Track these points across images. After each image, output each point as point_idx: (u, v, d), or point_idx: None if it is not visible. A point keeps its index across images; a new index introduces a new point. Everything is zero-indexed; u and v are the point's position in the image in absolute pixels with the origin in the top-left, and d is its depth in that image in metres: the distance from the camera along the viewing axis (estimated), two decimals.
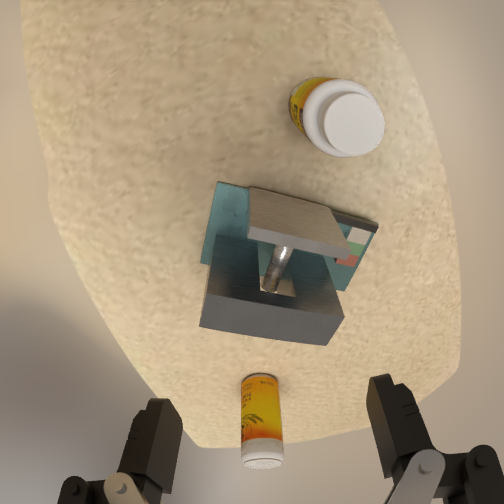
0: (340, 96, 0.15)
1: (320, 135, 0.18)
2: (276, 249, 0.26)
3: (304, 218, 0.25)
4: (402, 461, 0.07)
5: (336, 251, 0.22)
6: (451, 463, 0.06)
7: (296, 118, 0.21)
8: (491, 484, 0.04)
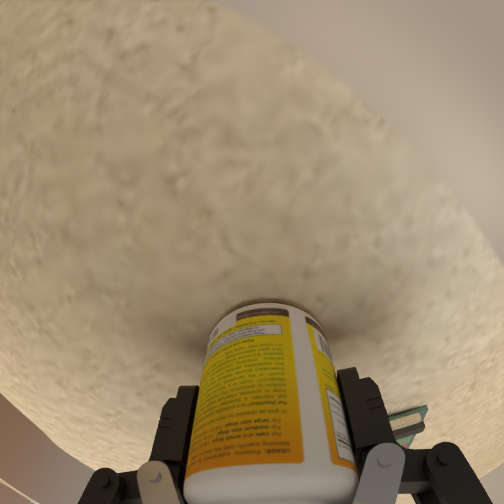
0: None
1: None
2: None
3: None
4: (363, 453, 0.07)
5: None
6: (414, 458, 0.06)
7: None
8: (460, 479, 0.05)
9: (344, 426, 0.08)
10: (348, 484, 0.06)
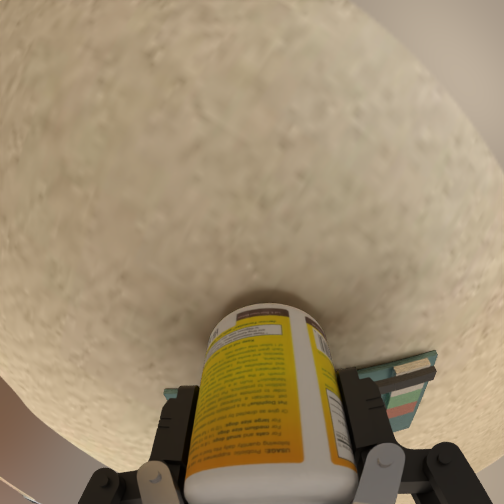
0: None
1: None
2: None
3: None
4: (363, 453, 0.07)
5: None
6: (414, 458, 0.06)
7: None
8: (460, 479, 0.05)
9: (344, 426, 0.08)
10: (348, 484, 0.06)
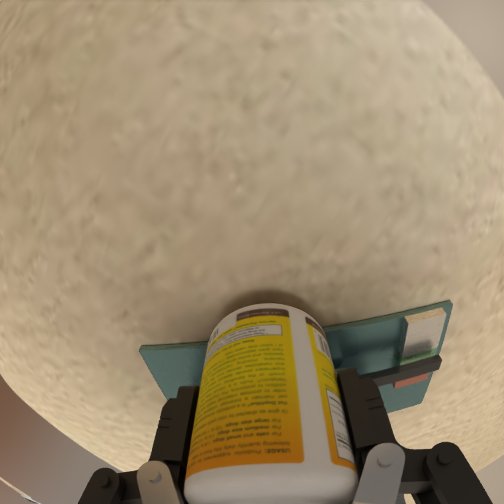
0: None
1: None
2: None
3: None
4: (363, 453, 0.07)
5: None
6: (414, 459, 0.06)
7: None
8: (460, 479, 0.05)
9: (344, 426, 0.08)
10: (348, 484, 0.06)
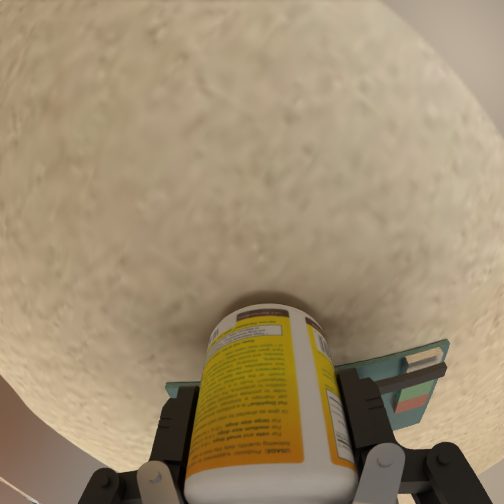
0: None
1: None
2: None
3: None
4: (363, 453, 0.07)
5: None
6: (414, 459, 0.06)
7: None
8: (460, 479, 0.05)
9: (344, 426, 0.08)
10: (348, 484, 0.06)
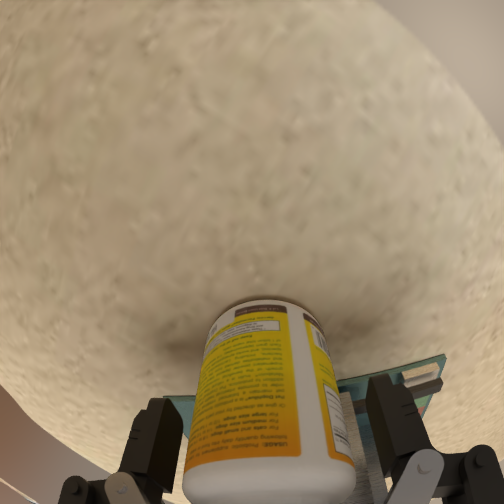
0: None
1: None
2: None
3: None
4: (401, 461, 0.07)
5: None
6: (450, 463, 0.06)
7: None
8: (490, 484, 0.04)
9: (341, 421, 0.08)
10: (345, 478, 0.06)
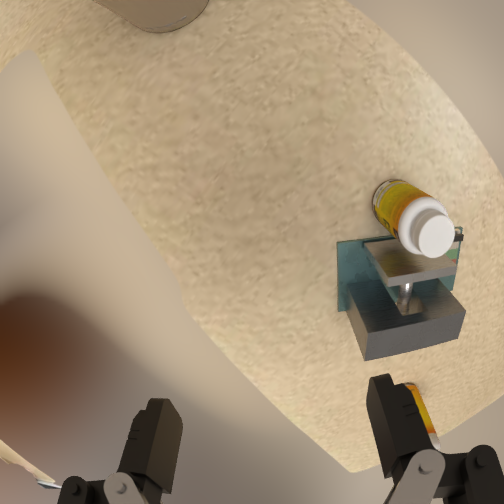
0: (424, 223, 0.21)
1: (414, 246, 0.24)
2: (401, 284, 0.30)
3: (415, 254, 0.28)
4: (402, 461, 0.07)
5: (448, 271, 0.25)
6: (451, 463, 0.06)
7: (389, 230, 0.27)
8: (491, 484, 0.04)
9: None
10: (446, 211, 0.23)
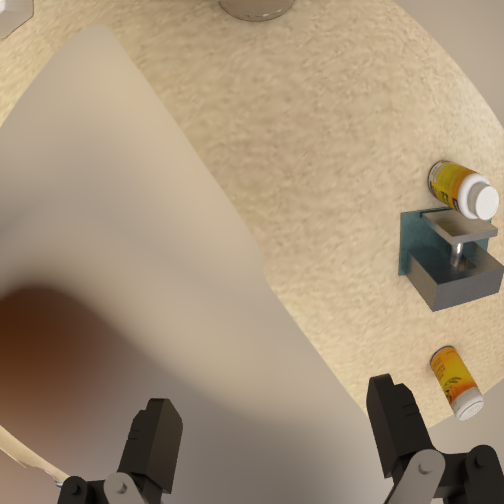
0: (479, 192, 0.24)
1: (469, 212, 0.27)
2: (454, 247, 0.33)
3: (465, 221, 0.31)
4: (402, 461, 0.07)
5: (491, 233, 0.28)
6: (451, 463, 0.06)
7: (446, 200, 0.30)
8: (491, 484, 0.04)
9: None
10: None
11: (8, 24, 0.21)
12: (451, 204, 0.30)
